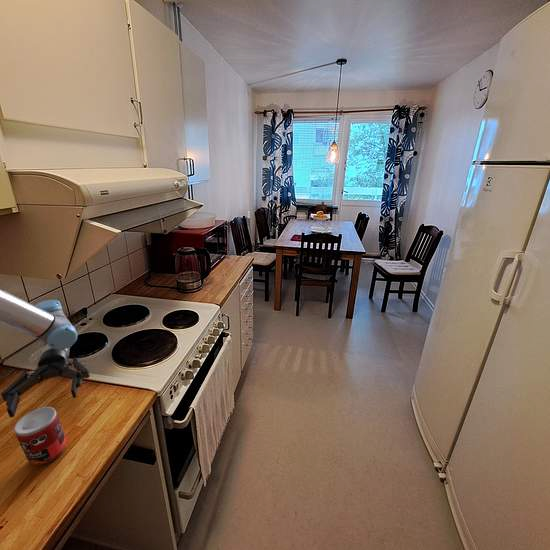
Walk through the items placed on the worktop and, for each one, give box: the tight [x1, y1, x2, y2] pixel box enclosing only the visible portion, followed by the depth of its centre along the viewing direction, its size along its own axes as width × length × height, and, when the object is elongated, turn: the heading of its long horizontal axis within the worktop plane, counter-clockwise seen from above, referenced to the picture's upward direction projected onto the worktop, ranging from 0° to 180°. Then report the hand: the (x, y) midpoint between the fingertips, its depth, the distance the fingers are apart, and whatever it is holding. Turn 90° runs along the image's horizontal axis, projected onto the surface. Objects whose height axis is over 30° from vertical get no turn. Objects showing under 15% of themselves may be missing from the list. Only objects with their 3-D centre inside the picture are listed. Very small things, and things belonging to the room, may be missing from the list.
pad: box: [37, 450, 64, 467], centre depth 73 cm, size 6×6×1 cm
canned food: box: [13, 406, 67, 466], centre depth 71 cm, size 8×8×11 cm
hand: (43, 403), depth 76 cm, fingers open, 13 cm apart
